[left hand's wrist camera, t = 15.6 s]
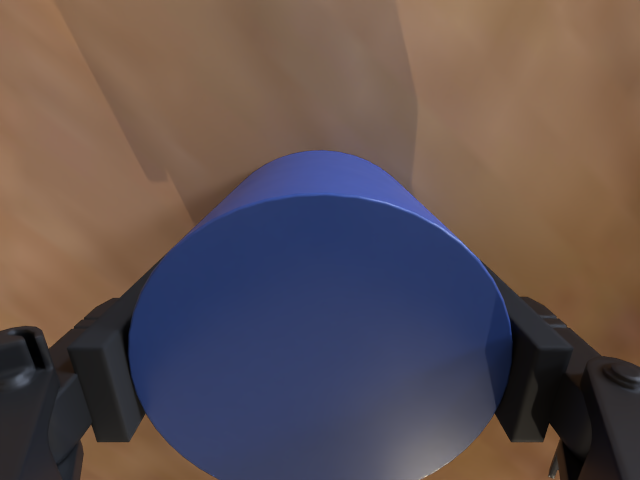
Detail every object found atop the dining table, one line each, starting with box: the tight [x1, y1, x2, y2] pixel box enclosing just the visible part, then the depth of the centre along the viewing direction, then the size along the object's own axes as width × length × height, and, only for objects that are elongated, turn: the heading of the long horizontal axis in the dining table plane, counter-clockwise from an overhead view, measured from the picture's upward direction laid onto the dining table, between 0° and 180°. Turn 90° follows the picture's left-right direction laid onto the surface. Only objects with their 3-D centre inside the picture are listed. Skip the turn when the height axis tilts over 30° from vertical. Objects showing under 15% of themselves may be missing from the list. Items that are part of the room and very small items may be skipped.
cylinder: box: [128, 150, 513, 480], centre depth 11 cm, size 9×9×7 cm
